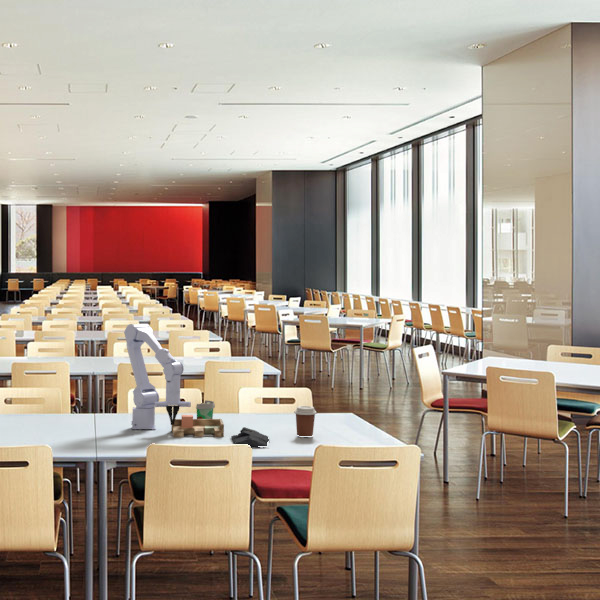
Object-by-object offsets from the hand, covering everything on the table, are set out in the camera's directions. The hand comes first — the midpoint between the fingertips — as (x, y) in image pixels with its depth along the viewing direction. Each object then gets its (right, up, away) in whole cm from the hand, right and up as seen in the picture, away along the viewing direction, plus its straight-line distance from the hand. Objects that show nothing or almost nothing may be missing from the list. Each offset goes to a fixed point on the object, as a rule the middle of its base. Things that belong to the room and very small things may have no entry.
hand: (172, 424), depth 342 cm
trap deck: (+10, -4, -1) cm, 11 cm away
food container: (+12, -4, +19) cm, 23 cm away
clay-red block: (+6, -1, +1) cm, 6 cm away
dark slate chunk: (+33, -5, -16) cm, 37 cm away
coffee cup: (+54, -5, -1) cm, 54 cm away
